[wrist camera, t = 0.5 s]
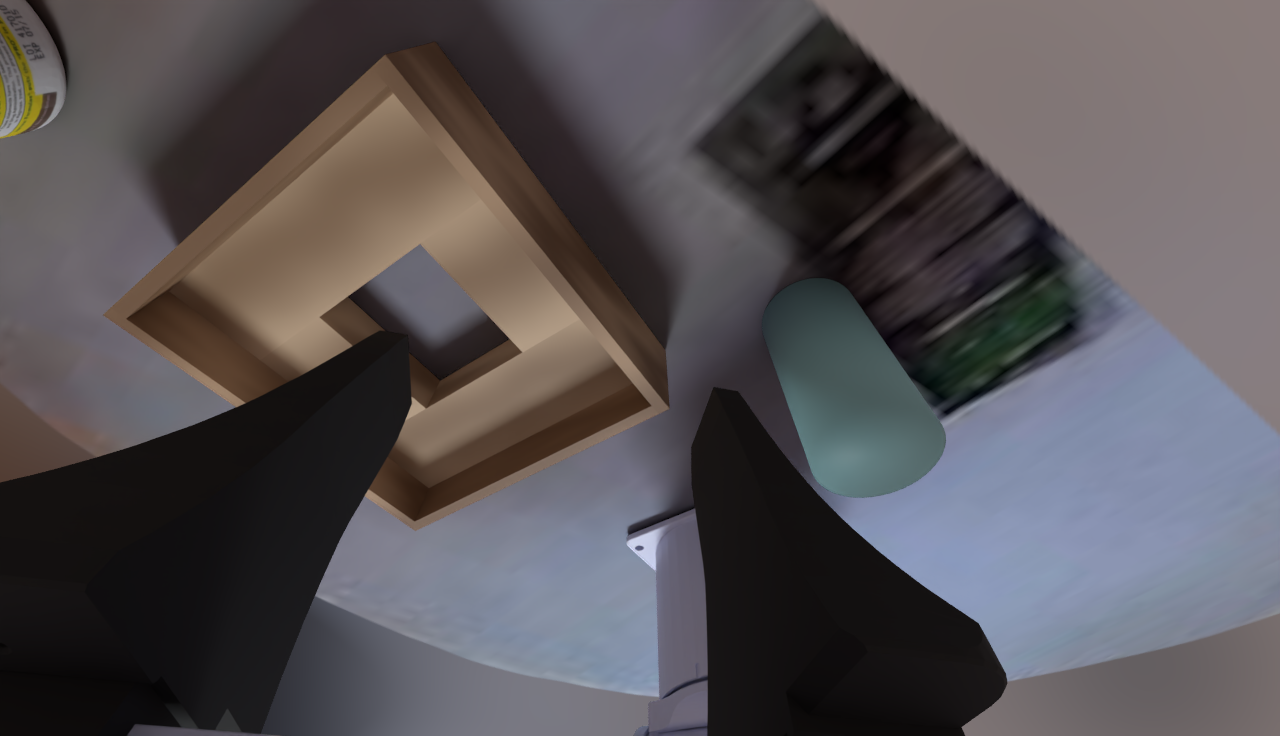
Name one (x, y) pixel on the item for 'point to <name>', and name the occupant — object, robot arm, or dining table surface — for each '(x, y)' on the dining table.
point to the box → (372, 241)
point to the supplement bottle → (27, 71)
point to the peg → (848, 393)
